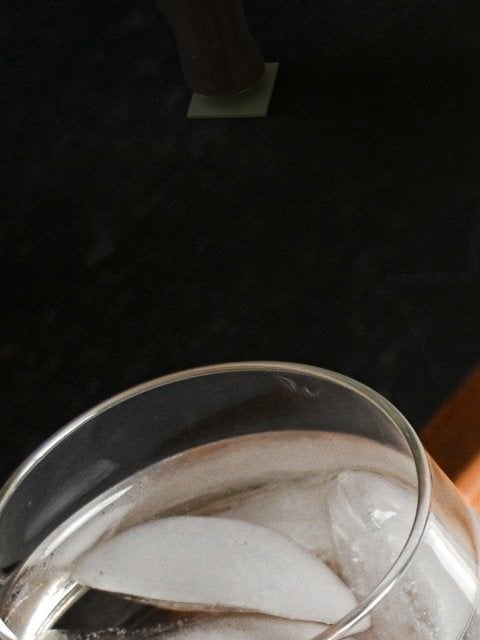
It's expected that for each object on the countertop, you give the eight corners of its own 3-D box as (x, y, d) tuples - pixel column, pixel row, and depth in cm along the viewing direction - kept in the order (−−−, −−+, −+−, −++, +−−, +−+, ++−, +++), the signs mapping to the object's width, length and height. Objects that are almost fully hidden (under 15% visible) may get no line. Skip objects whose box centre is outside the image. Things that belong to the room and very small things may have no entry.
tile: (187, 119, 145) (186, 115, 145) (202, 67, 148) (201, 64, 148) (266, 117, 144) (265, 113, 144) (279, 65, 148) (278, 62, 147)
